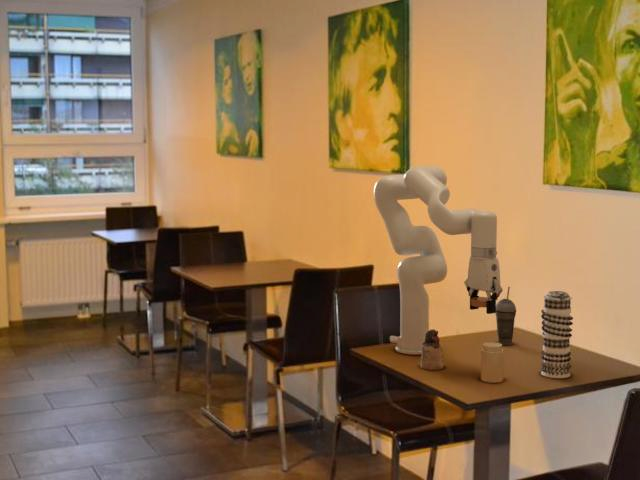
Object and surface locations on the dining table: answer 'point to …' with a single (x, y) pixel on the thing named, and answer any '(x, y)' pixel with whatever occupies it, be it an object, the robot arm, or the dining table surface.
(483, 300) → the jar lid
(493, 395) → the dining table surface
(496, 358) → the honey jar
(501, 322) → the beverage cup
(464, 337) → the dining table surface
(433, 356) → the figurine
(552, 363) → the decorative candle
